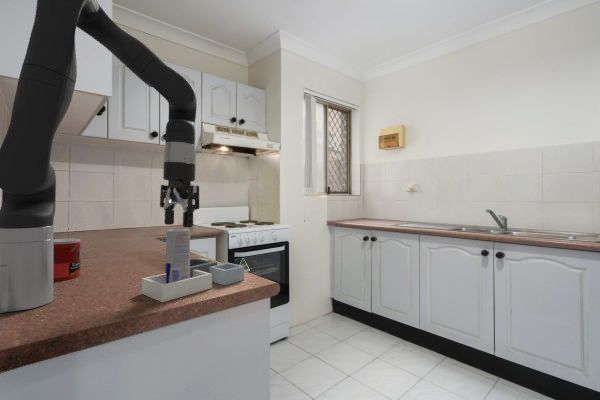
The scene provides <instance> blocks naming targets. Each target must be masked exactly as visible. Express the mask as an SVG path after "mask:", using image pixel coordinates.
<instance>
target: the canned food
mask: <svg viewBox="0 0 600 400" xmlns="http://www.w3.org/2000/svg"><path fill="white" fill-rule="evenodd" d="M81 245H82V241H81V238H77V237H75V238H74V237H68V238H67V237H66V238H64V237H63V238H55V239H54V238H53V282H54V281H67V280H72V279H76V278H79V277H80V275H81V269H82V268H81V267H82V266H81V263H82V262H81V254H82V253H81V249H82V247H81Z"/></svg>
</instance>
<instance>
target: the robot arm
mask: <svg viewBox="0 0 600 400" xmlns="http://www.w3.org/2000/svg"><path fill="white" fill-rule="evenodd" d="M77 28H78V29H79V30H81V31H83V32H84V33H85V34H87V35H88V36H90V37H91V38H93V40H95V41H96V42H98V43H99V44H101V46H104V47H105V49H107V50H108V51H109V52H110V53H111V54H112V55H113V56H114V57H116V59H118V60H119V61H120V62H121V63H122V64H123V65H125V66H126V68H128V69H129V71H131V72H132V73H133V74H134V75H135V76H136V77H138V78H139V80H141V81H142V82H143V83H144V84H145V85H147V86H148V87H150V88H153V89H155V91H156V92H158V94H160V95H161V96H162V97H163V98H164V99H165V100H166V101H167V104H168V121H167V122H166V126H165V144H164V150H163V172H162V173H163V174H162V175H163V177H162V178H163V180H164V181H167V182H168V183H167V184H161V185H160V195H159V196H160V197H159V207H160V208H163V211H164V224H165V225H174V224H175V208H176V206H177V205H178V204H179V205H181V207H182V210H183V212H182V227H183V228H191V227H193V224H194V221H193V219H194V212H195V211H196V210H199V209H200V186H199V185H198V184H191V182H194V181H196V159H197V155H196V146H195V145H196V126H195V125H196V119H197V118H196V117H197V109H198V108H197V106H198V105H197V103H198V101H197V96H196V90H195V89H194V87H193V85H192V84H191V83H190V82H189V81H188V80H187V79H186V78H185V77H184V76H182V75H181V74H179V73H178V71H176V70H174V69H172V68H171V67H169V66H168V65H167V64H166V63H165V62H164V61H163V60H162V59H161V58H160V57H159V56H158V55H157V54H156V53H155V52H154V51H152V50H151V49H150V48H149V47H148V46H147V45H146V44H144V43H143V42H142V41H140V40H139V39H137V38H136V37H135V36H132V35H131V34H130V33H128V32H127V31H125V30H124V29H122V28H121V27H120V26H119V25H118V24H117V23H115V22H114V21H113V20H112V19H111V17H109V15H108V14H107V13H106V11H105V10H104V9H103V7H102V6H101V5H100V4H99V3H98V0H36V9H35V16H34V21H33V26H32V28H31V32H30V37H29V41H28V44H27V49H26V53H25V56H24V59H23V62H22V65H21V70H20V73H19V76H18V77H19V78H18V81H17V86H16V90H15V95H14V100H13V102H12V103H13V104H12V111H11V117H10V121H9V125H8V127H7V132H6V134H5V137H4V139H3V141H2V144H1V146H0V189H1V206H0V314H3V313H8V312H18V311H19V312H20V311H26V310H30V309H35V308H39V307H42V306H45V305H48V304H50V303H51V302H53V301H54V292H55V290H54V281H53V239H54V221H55V220H54V219H55V212H56V197H57V196H56V195H57V192H56V190H57V188H56V187H57V178H56V177H57V176H56V172H55V168H54V167H53V165H52V164H51V163H50V162H51V155H52V149H53V143H54V138H55V134H56V133H57V130H58V128H59V126H60V125H61V123H62V121H63V119H64V117H65V116H66V114H67V112H68V110H69V107H70V105H71V102H72V99H73V95H74V91H75V88H76V83H77V77H78V76H77V74H78V72H77V71H78V69H77V68H78V67H77V66H78V65H77V53H76V51H77V50H76V41H75V40H76V29H77Z"/></svg>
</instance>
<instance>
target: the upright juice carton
mask: <svg viewBox="0 0 600 400" xmlns="http://www.w3.org/2000/svg"><path fill="white" fill-rule="evenodd" d="M190 230H191V229H190V228H171V229H170V228H169V229H167V230H166V235H165V236H166V237H165V238H166V241H165V242H166V251H165V252H166V255H165V256H166V258H165V259H166V260H165V263H166V284H167V283H171V282H176V281H180V280H184V279H188V278H190V259H191V232H190Z"/></svg>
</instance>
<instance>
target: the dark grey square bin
mask: <svg viewBox="0 0 600 400" xmlns="http://www.w3.org/2000/svg"><path fill="white" fill-rule="evenodd" d="M216 265H218V262H216V261H212V260H211V259H207V258H203V257H201V258H199V257H193V258H190V278H193V270H195V269H196V270H200V271H203V272H207V273H209V267H211V266H216ZM164 274H166V262H164Z"/></svg>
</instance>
